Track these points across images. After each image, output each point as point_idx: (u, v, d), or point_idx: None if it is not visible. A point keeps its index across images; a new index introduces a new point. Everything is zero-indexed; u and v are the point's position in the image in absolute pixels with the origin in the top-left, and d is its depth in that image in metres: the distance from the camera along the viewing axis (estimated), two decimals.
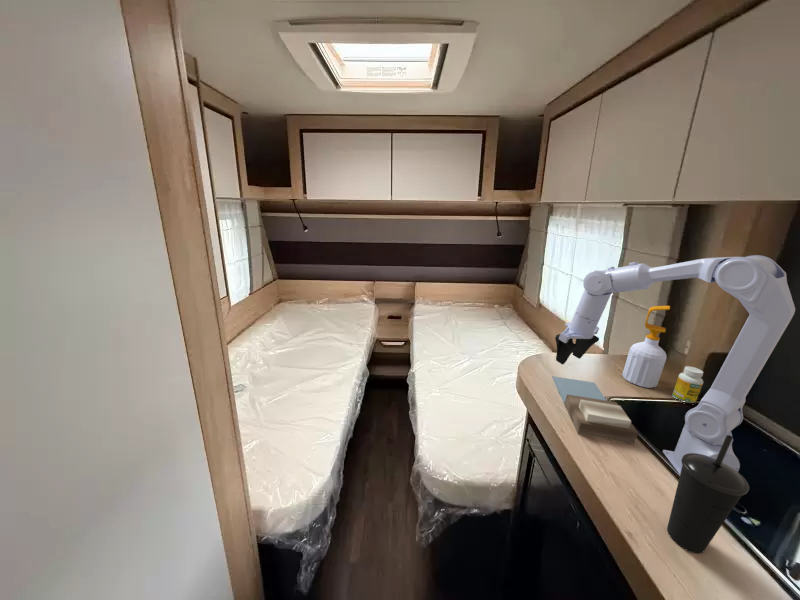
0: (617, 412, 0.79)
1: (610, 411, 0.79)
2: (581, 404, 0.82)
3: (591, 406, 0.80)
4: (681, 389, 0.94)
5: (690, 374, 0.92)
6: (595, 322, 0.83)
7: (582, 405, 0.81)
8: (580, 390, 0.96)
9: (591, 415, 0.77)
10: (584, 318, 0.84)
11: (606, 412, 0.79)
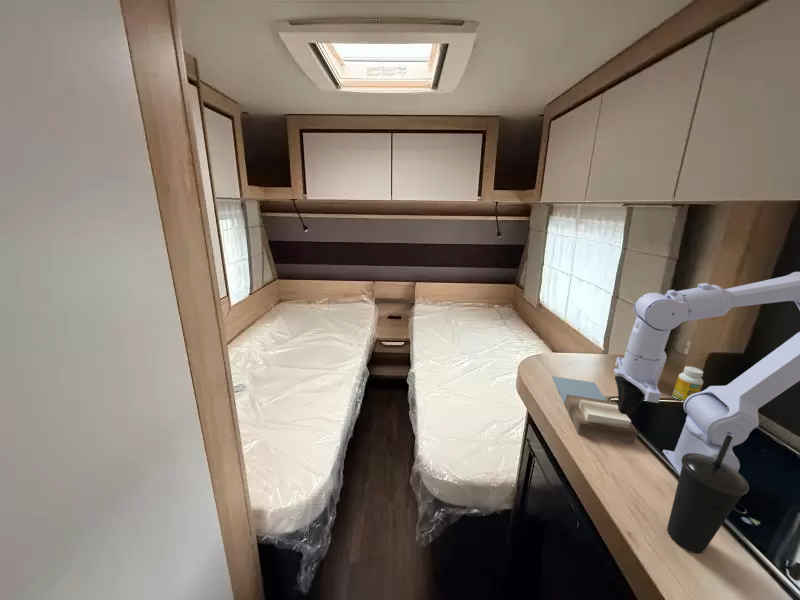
0: (617, 412, 0.79)
1: (610, 411, 0.79)
2: (581, 404, 0.82)
3: (591, 406, 0.80)
4: (681, 389, 0.94)
5: (690, 374, 0.92)
6: None
7: (582, 405, 0.81)
8: (580, 390, 0.96)
9: (591, 415, 0.77)
10: (655, 360, 0.64)
11: (606, 412, 0.79)
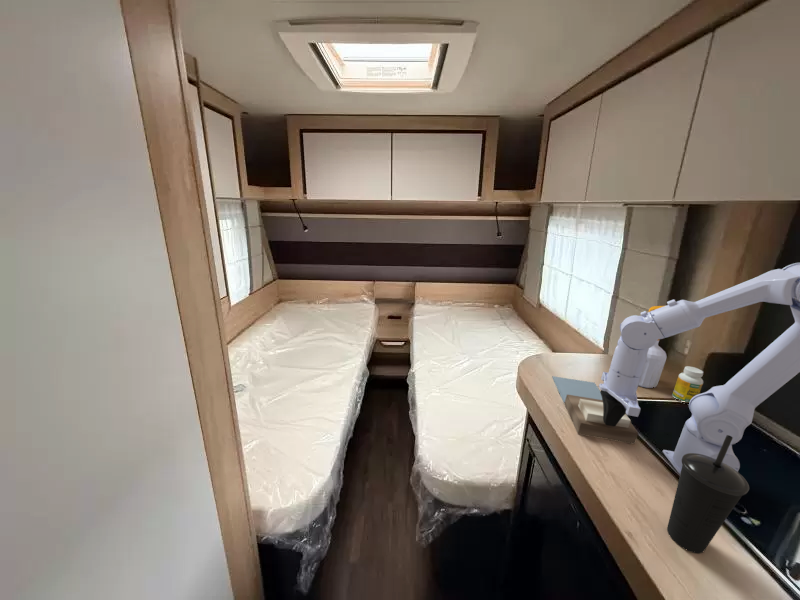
0: None
1: None
2: (581, 403, 0.82)
3: (591, 405, 0.81)
4: (681, 389, 0.94)
5: (690, 374, 0.92)
6: None
7: (582, 405, 0.82)
8: (580, 390, 0.96)
9: (591, 414, 0.78)
10: (635, 377, 0.70)
11: None
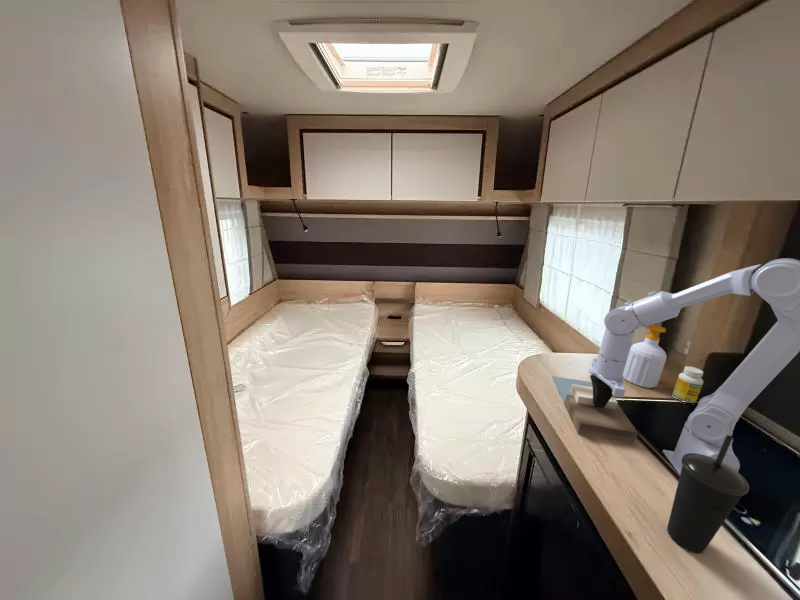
0: None
1: None
2: (572, 388, 0.89)
3: (581, 389, 0.87)
4: (681, 389, 0.94)
5: (690, 374, 0.92)
6: None
7: (573, 389, 0.88)
8: None
9: (581, 397, 0.84)
10: (621, 362, 0.76)
11: None
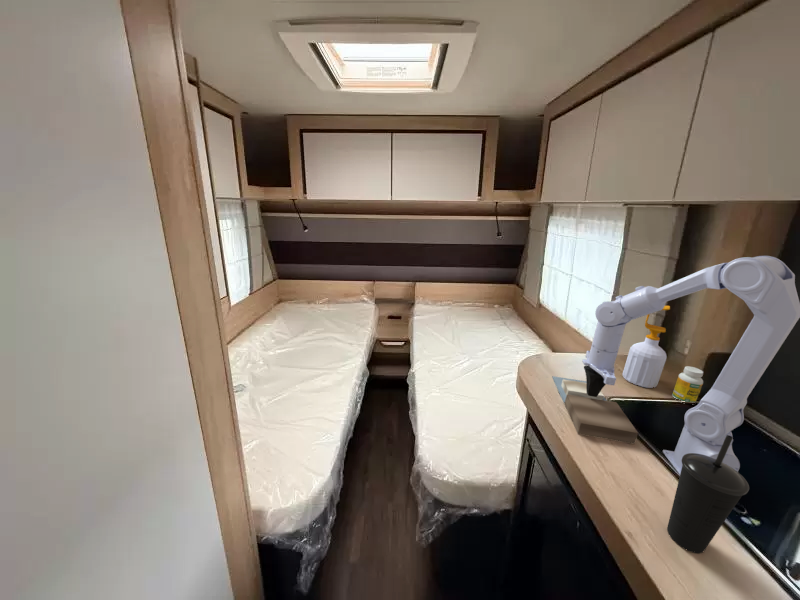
0: None
1: None
2: (566, 392, 0.94)
3: None
4: (681, 389, 0.94)
5: (690, 374, 0.92)
6: None
7: (565, 391, 0.94)
8: None
9: None
10: (612, 352, 0.81)
11: None
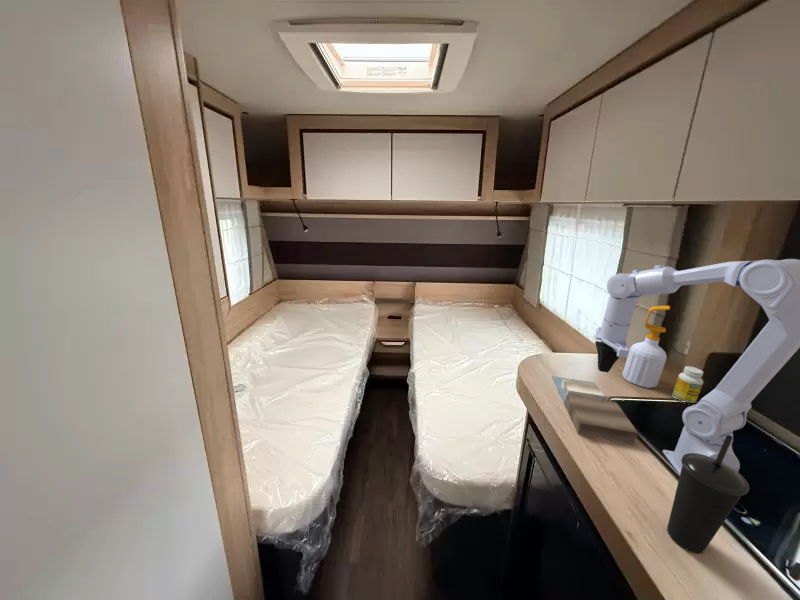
0: None
1: None
2: (566, 392, 0.94)
3: None
4: (681, 389, 0.94)
5: (690, 374, 0.92)
6: None
7: (565, 391, 0.94)
8: None
9: None
10: (625, 325, 0.80)
11: None
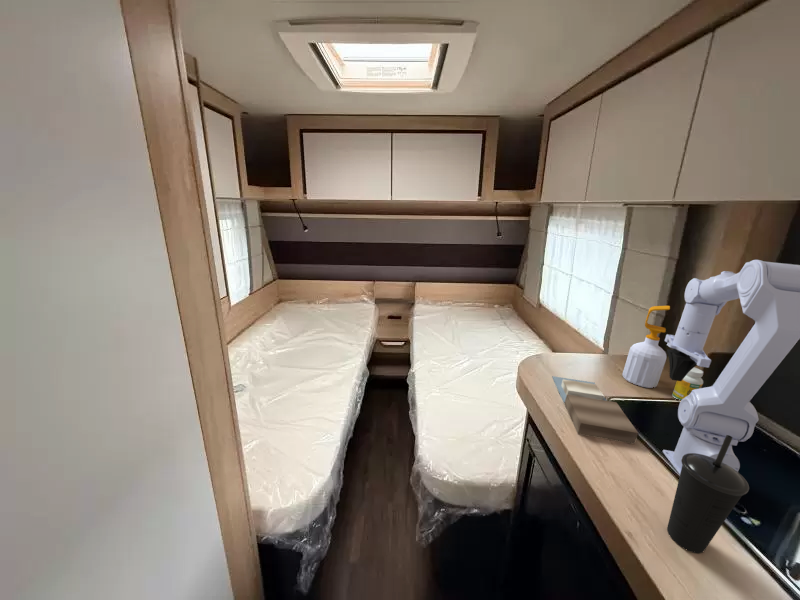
0: None
1: None
2: (566, 392, 0.94)
3: None
4: (681, 389, 0.94)
5: (690, 374, 0.92)
6: None
7: (565, 391, 0.94)
8: None
9: None
10: (704, 334, 0.78)
11: None
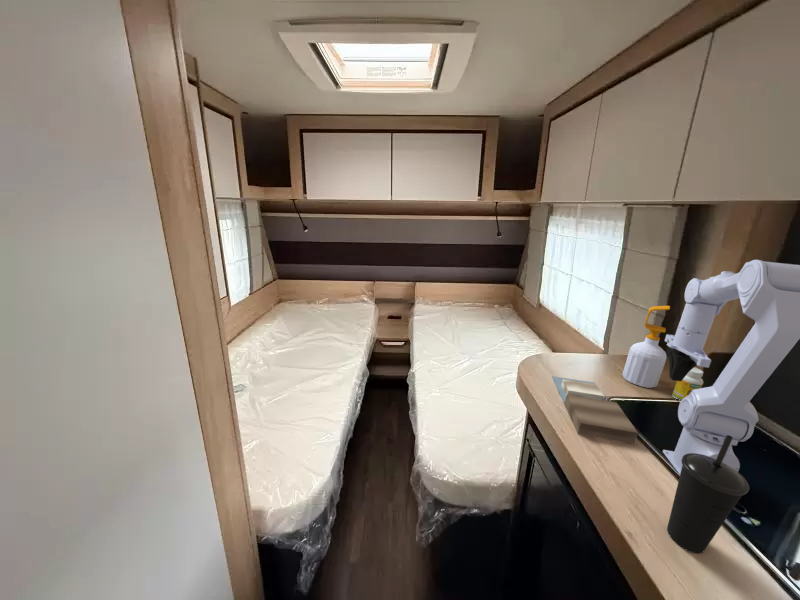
0: None
1: None
2: (566, 392, 0.94)
3: None
4: (681, 389, 0.94)
5: (690, 374, 0.92)
6: None
7: (565, 391, 0.94)
8: None
9: None
10: (704, 334, 0.78)
11: None
